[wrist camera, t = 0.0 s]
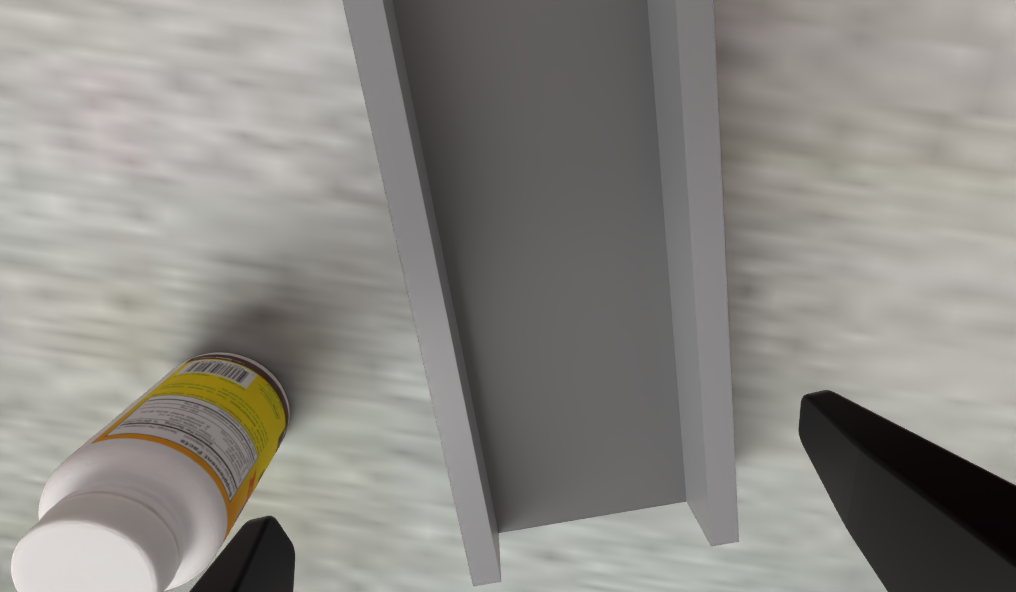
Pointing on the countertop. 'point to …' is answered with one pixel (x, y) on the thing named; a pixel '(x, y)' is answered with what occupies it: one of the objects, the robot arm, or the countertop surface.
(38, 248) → the countertop surface
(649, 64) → the cable duct
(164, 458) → the supplement bottle
